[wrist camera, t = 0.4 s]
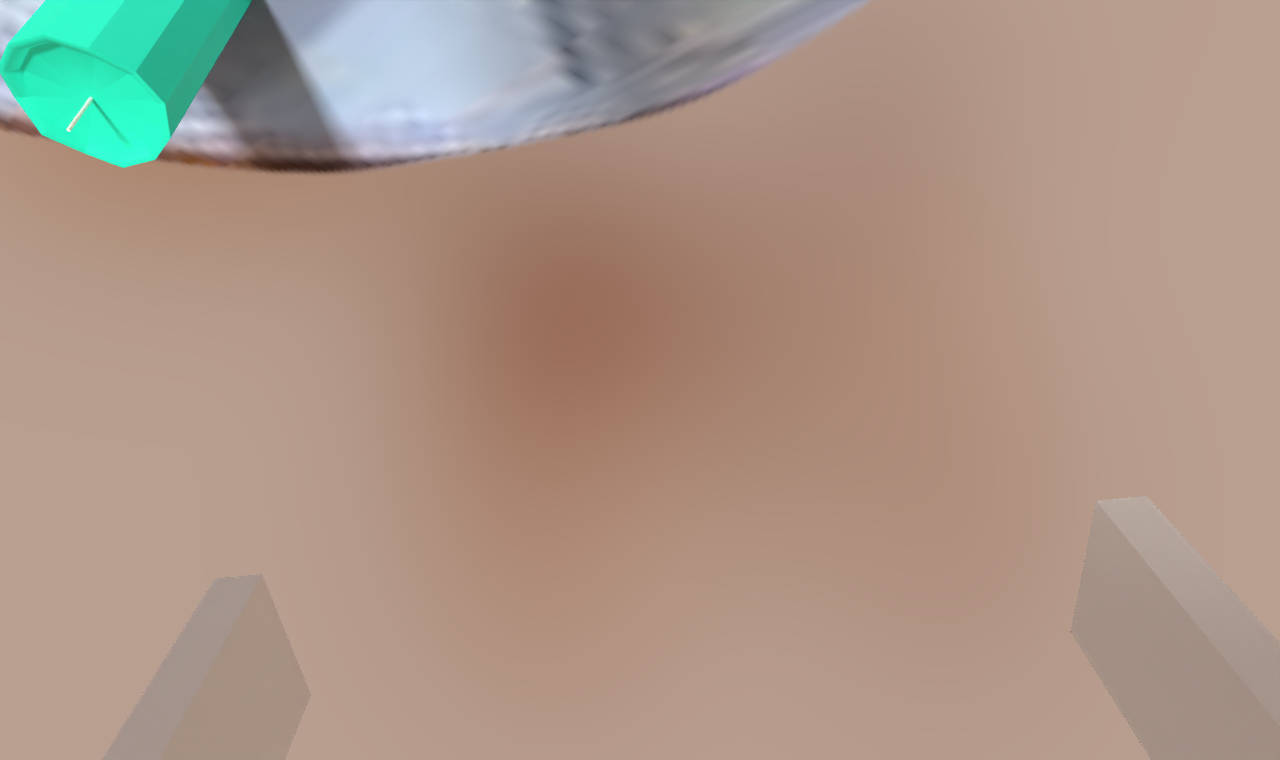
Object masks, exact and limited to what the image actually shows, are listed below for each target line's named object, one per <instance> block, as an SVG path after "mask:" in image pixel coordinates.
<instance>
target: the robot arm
mask: <svg viewBox="0 0 1280 760" xmlns="http://www.w3.org/2000/svg"><path fill="white" fill-rule="evenodd" d="M1071 633H1072V635H1073V636H1074V638H1075V639H1076V641H1077V643H1078V644H1079V646H1080V648H1081V649H1082V651H1083V652H1084V654H1085V656H1086V657H1087V659H1088V660H1089V662H1090V663H1091V665H1092V667H1093V668H1094V670H1095V671H1096V673H1097V675H1098V676H1099V678H1100V679H1101V681H1102V683H1103V684H1104V686H1105V687H1106V689H1107V691H1108V692H1109V694H1110V695H1111V697H1112V699H1113V700H1114V702H1115V703H1116V705H1117V706H1118V708H1119V710H1120V711H1121V713H1122V714H1123V716H1124V718H1125V719H1126V721H1127V722H1128V724H1129V725H1130V727H1131V729H1132V730H1133V732H1134V733H1135V735H1136V737H1137V738H1138V740H1139V742H1140V743H1141V745H1142V746H1143V748H1144V749H1145V751H1146V753H1147V754H1148V756H1149V757H1150V759H1151V760H1280V643H1279V642H1278V641H1277V639H1276V638H1275V637H1274V636H1273V635H1272V634H1271V633H1270V632H1269V631H1268V629H1267V628H1266V627H1265V626H1264V625H1263V624H1262V623H1261V622H1260V621H1259V620H1258V618H1257V617H1256V616H1255V615H1254V614H1253V613H1252V612H1251V611H1250V610H1249V609H1248V607H1247V606H1246V605H1245V604H1244V603H1243V602H1242V601H1241V600H1240V599H1239V598H1238V596H1237V595H1235V593H1234V592H1233V591H1232V590H1231V589H1230V588H1229V587H1228V585H1227V584H1226V583H1225V582H1224V581H1223V580H1222V579H1221V578H1220V577H1219V575H1217V573H1216V572H1215V571H1214V570H1213V569H1212V568H1211V567H1210V566H1209V564H1208V563H1207V562H1206V561H1205V560H1204V559H1203V558H1202V557H1201V556H1200V555H1199V554H1198V552H1197V551H1196V550H1195V549H1194V548H1193V547H1192V546H1191V545H1190V544H1189V542H1188V541H1186V539H1185V538H1184V537H1183V536H1182V535H1181V534H1180V533H1179V532H1178V530H1177V529H1176V528H1175V527H1174V526H1173V525H1172V524H1171V523H1170V522H1169V521H1168V519H1167V518H1166V517H1165V516H1164V515H1163V514H1162V513H1161V512H1160V511H1159V509H1158V508H1157V507H1156V506H1155V505H1154V504H1153V503H1152V502H1151V501H1150V500H1149V498H1148V497H1147V496H1145V497H1133V498H1123V499H1111V500H1100V501H1096V505H1095V510H1094V515H1093V520H1092V525H1091V530H1090V535H1089V540H1088V545H1087V550H1086V556H1085V561H1084V566H1083V571H1082V576H1081V581H1080V587H1079V591H1078V597H1077V601H1076V606H1075V612H1074V617H1073V622H1072V627H1071ZM310 696H311V694H310V691H309V689H308V686H307V684H306V681H305V679H304V676H303V674H302V671H301V669H300V666H299V664H298V662H297V659H296V657H295V654H294V652H293V649H292V647H291V644H290V642H289V640H288V637H287V634H286V632H285V629H284V627H283V625H282V622H281V620H280V617H279V615H278V613H277V610H276V607H275V605H274V603H273V600H272V597H271V595H270V593H269V590H268V588H267V585H266V583H265V580H264V578H263V576H262V574H259V575H248V576H237V577H226V578H215V579H214V581H213V583H212V584H211V586H210V587H209V589H208V591H207V592H206V594H205V596H204V597H203V599H202V600H201V602H200V603H199V605H198V607H197V608H196V610H195V611H194V613H193V615H192V616H191V618H190V619H189V621H188V623H187V624H186V626H185V628H184V629H183V631H182V632H181V634H180V635H179V637H178V639H177V640H176V642H175V644H174V645H173V647H172V648H171V650H170V652H169V653H168V655H167V656H166V658H165V659H164V661H163V663H162V664H161V666H160V668H159V669H158V671H157V672H156V674H155V676H154V677H153V679H152V680H151V682H150V684H149V685H148V687H147V688H146V690H145V692H144V693H143V695H142V696H141V698H140V700H139V701H138V703H137V704H136V706H135V708H134V709H133V711H132V713H131V714H130V716H129V717H128V719H127V721H126V722H125V724H124V725H123V727H122V728H121V730H120V732H119V733H118V735H117V736H116V738H115V740H114V741H113V743H112V744H111V746H110V748H109V749H108V751H107V753H106V754H105V756H104V758H103V759H102V760H285V758H286V755H287V753H288V751H289V748H290V746H291V743H292V740H293V738H294V736H295V733H296V731H297V728H298V726H299V723H300V721H301V718H302V716H303V713H304V711H305V708H306V706H307V704H308V701H309V699H310Z"/></svg>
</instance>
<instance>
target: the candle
mask: <svg viewBox="0 0 1280 760" xmlns="http://www.w3.org/2000/svg"><path fill="white" fill-rule="evenodd" d="M251 2H252V0H46V1H45V2H44V3H43V4H42V5H41V6H40V7H39V9H38V10H37V11H36V12H35V13H34V14H33V15H32V17H31V18H30V19H29V20H28V21H27V22H26V23H25V25H24V26H23V27H22V28H21V29H20V30H19V31H18V33H17V34H16V35H15V36H14V37H13V38H12V40H11V41H10V42H9V43H8V45H7V47H6V49H5V52H4V54H3V56H2V59H1V61H0V74H1V75H2V77H3V79H4V81H5V82H6V84H7V86H8V87H9V89H10V91H11V92H12V94H13V96H14V97H15V99H16V100H17V102H18V103H19V104H20V106H21V107H22V108H23V110H24V111H25V112H26V114H27V115H28V117H29V118H30V119H31V121H32V122H33V123H34V125H35V126H36V127H37V129H38V130H39V132H40V133H41V134H42V135H43V136H46V137H48V138H50V139H53V140H55V141H57V142H60V143H62V144H64V145H66V146H69V147H71V148H73V149H76V150H78V151H81V152H83V153H85V154H87V155H90V156H93V157H96V158H98V159H101V160H103V161H106V162H109V163H111V164H114V165H117V166H120V167H122V168H124V167H128V166H132V165H136V164H140V163H144V162H148V161H152V160H155V159H156V158H157V156H158V155H159V154H160V152H161V151H162V149H163V148H164V146H165V145H166V144H167V142H168V141H169V139H170V138H171V136H172V134H173V133H174V131H175V129H176V128H177V126H178V124H179V123H180V121H181V119H182V118H183V116H184V114H185V113H186V111H187V109H188V108H189V106H190V104H191V103H192V101H193V99H194V98H195V96H196V94H197V93H198V91H199V89H200V87H201V86H202V84H203V82H204V81H205V79H206V77H207V76H208V74H209V72H210V71H211V69H212V67H213V66H214V64H215V62H216V61H217V59H218V57H219V56H220V54H221V52H222V51H223V49H224V47H225V45H226V44H227V42H228V40H229V39H230V37H231V35H232V34H233V32H234V30H235V29H236V27H237V25H238V24H239V22H240V20H241V19H242V17H243V15H244V14H245V12H246V10H247V9H248V7H249V5H250V3H251Z"/></svg>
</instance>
